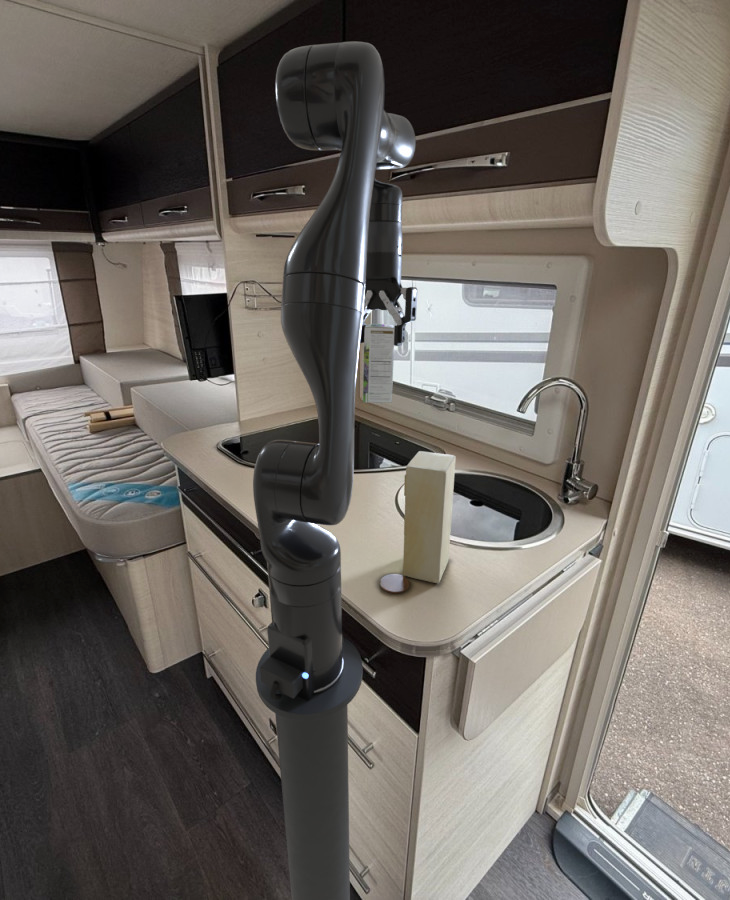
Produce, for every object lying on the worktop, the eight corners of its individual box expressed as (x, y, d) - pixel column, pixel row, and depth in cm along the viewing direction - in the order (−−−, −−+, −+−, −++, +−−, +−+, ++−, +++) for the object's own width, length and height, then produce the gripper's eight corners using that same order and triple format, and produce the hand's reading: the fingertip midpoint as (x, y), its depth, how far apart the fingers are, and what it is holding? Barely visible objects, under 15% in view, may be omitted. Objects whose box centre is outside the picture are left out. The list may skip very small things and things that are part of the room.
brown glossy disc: (401, 597, 77) (401, 595, 77) (374, 587, 79) (374, 585, 79) (413, 581, 81) (413, 579, 81) (387, 572, 83) (387, 570, 83)
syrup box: (363, 396, 96) (363, 323, 91) (392, 396, 96) (394, 323, 91) (362, 403, 91) (363, 326, 86) (393, 403, 91) (395, 326, 86)
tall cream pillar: (410, 551, 90) (415, 449, 82) (448, 560, 87) (457, 455, 79) (398, 575, 83) (401, 465, 75) (438, 584, 80) (446, 472, 73)
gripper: (336, 251, 84) (337, 343, 90) (409, 249, 78) (405, 349, 83) (356, 253, 90) (356, 339, 96) (426, 251, 84) (421, 344, 90)
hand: (379, 343), depth 90 cm, fingers closed on syrup box, 7 cm apart
